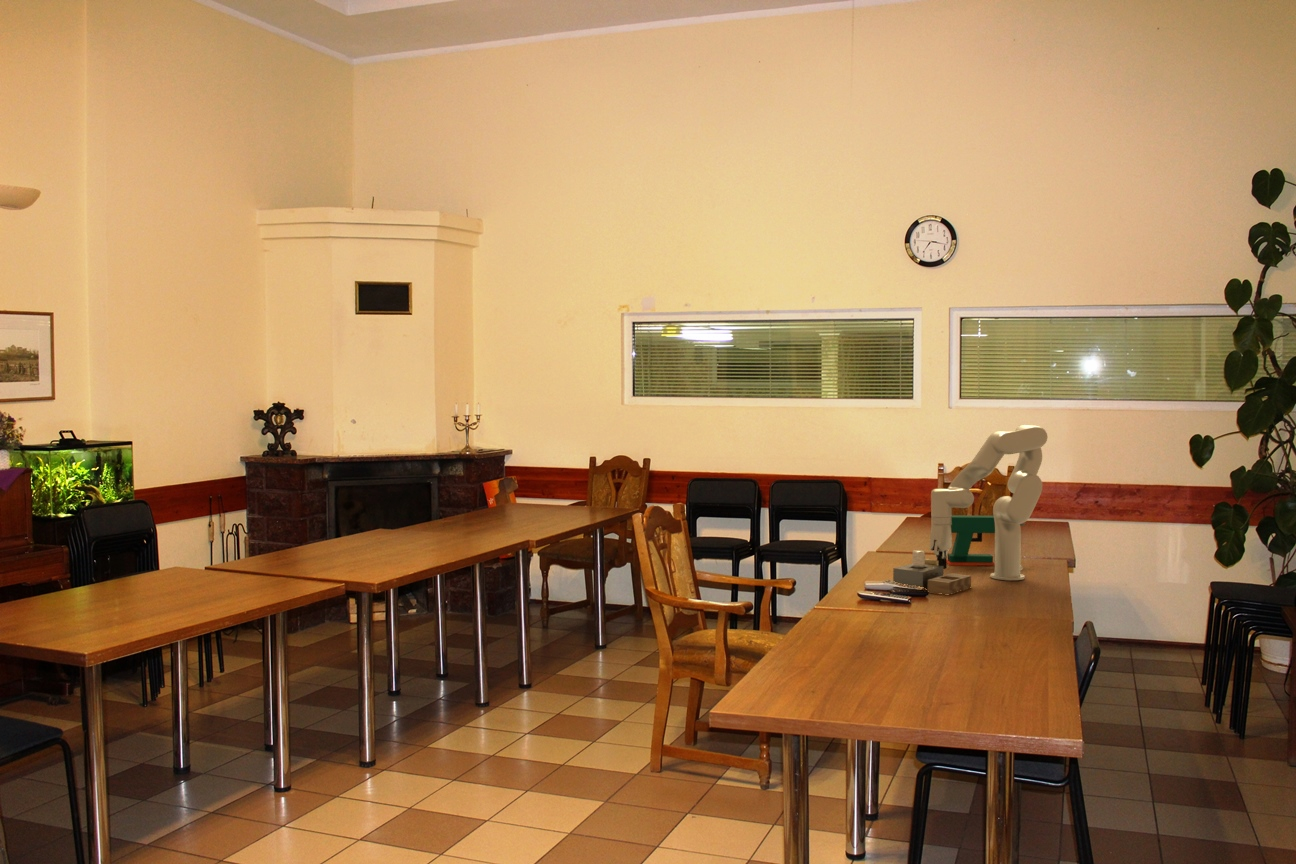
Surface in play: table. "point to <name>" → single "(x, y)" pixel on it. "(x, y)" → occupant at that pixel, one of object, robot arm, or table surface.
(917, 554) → the cream post
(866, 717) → the table surface
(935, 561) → the drift key
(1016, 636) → the table surface
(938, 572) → the socket block
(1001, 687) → the table surface
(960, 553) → the power tool
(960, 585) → the block
